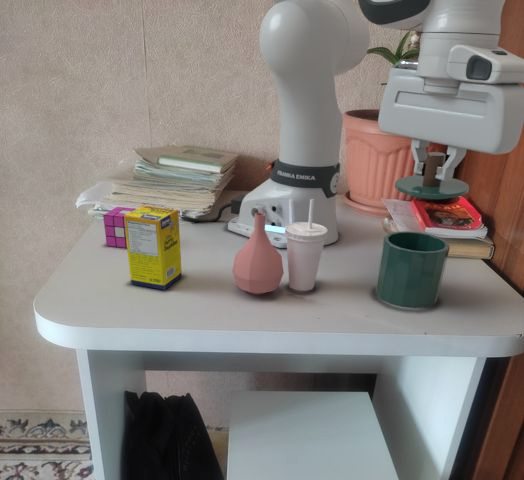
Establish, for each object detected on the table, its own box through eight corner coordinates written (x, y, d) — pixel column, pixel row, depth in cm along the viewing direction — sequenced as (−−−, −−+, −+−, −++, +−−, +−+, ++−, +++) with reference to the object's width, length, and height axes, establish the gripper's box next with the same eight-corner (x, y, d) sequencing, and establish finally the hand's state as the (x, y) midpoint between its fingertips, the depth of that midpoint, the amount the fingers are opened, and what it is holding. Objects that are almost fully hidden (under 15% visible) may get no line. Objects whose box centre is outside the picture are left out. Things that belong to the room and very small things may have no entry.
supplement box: (182, 276, 83) (179, 209, 77) (164, 291, 78) (160, 220, 72) (149, 270, 85) (144, 204, 79) (130, 284, 80) (123, 214, 74)
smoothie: (310, 301, 77) (318, 207, 70) (273, 290, 80) (278, 199, 73) (328, 287, 82) (338, 198, 75) (293, 277, 85) (299, 190, 77)
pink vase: (285, 284, 82) (290, 209, 76) (278, 304, 76) (283, 224, 69) (237, 279, 83) (238, 204, 77) (227, 299, 77) (227, 219, 70)
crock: (366, 300, 78) (375, 243, 73) (387, 280, 85) (396, 227, 80) (425, 317, 74) (439, 257, 69) (443, 295, 81) (456, 239, 76)
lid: (383, 196, 70) (388, 157, 67) (407, 179, 77) (412, 143, 74) (457, 207, 66) (465, 165, 63) (474, 188, 73) (482, 150, 70)
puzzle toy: (120, 236, 99) (116, 206, 96) (148, 239, 98) (145, 209, 95) (106, 245, 94) (102, 214, 91) (136, 249, 93) (133, 218, 90)
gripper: (376, 57, 69) (362, 165, 76) (514, 66, 55) (481, 197, 62) (408, 58, 72) (392, 161, 79) (547, 66, 58) (512, 191, 65)
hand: (432, 177), depth 70 cm, fingers closed on lid, 2 cm apart
